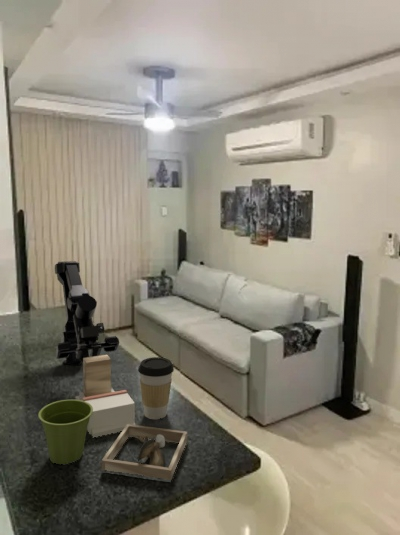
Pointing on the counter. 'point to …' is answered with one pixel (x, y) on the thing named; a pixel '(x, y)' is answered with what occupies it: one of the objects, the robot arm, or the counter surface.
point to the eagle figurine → (152, 450)
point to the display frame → (144, 468)
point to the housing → (109, 412)
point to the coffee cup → (155, 386)
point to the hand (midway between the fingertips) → (92, 372)
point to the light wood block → (97, 375)
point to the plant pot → (65, 429)
